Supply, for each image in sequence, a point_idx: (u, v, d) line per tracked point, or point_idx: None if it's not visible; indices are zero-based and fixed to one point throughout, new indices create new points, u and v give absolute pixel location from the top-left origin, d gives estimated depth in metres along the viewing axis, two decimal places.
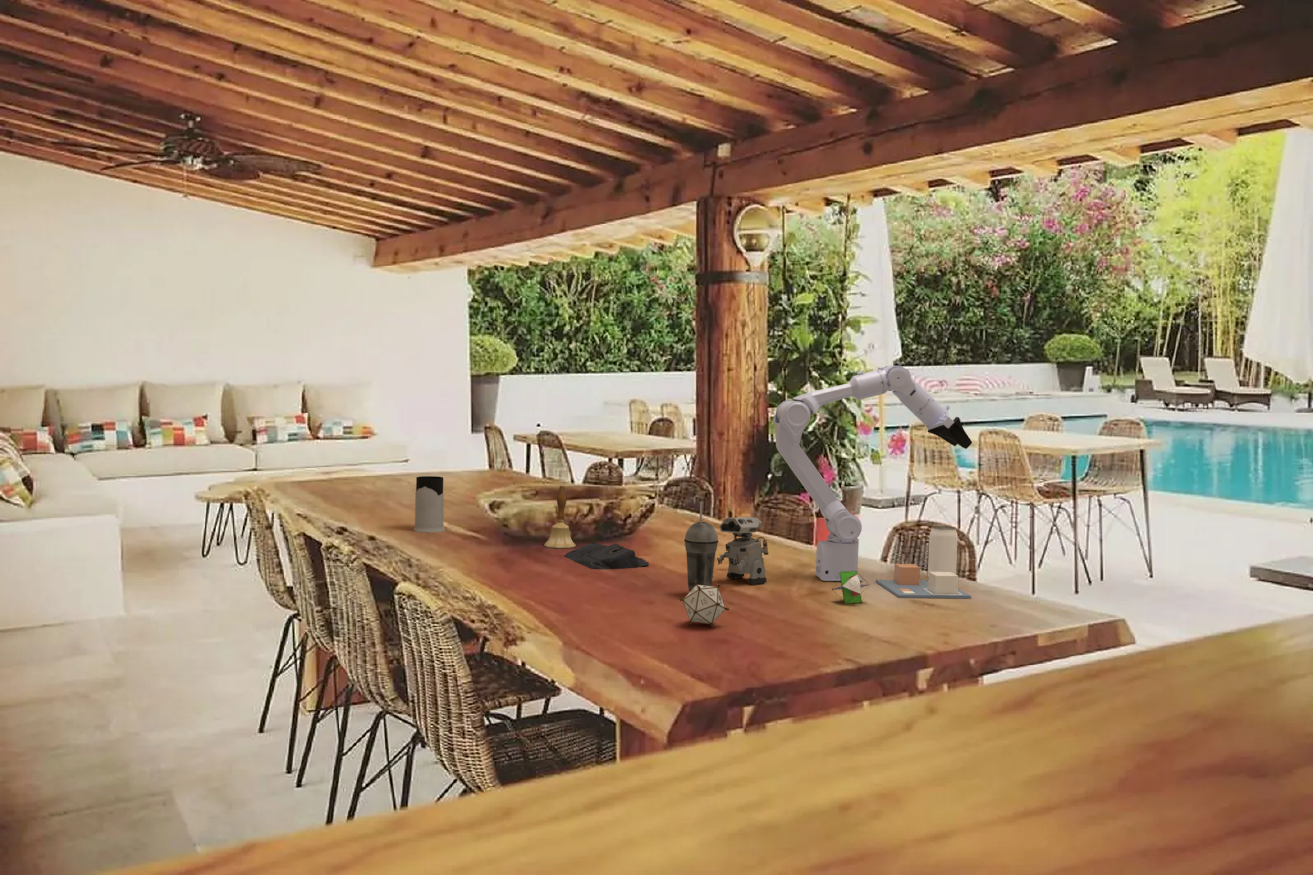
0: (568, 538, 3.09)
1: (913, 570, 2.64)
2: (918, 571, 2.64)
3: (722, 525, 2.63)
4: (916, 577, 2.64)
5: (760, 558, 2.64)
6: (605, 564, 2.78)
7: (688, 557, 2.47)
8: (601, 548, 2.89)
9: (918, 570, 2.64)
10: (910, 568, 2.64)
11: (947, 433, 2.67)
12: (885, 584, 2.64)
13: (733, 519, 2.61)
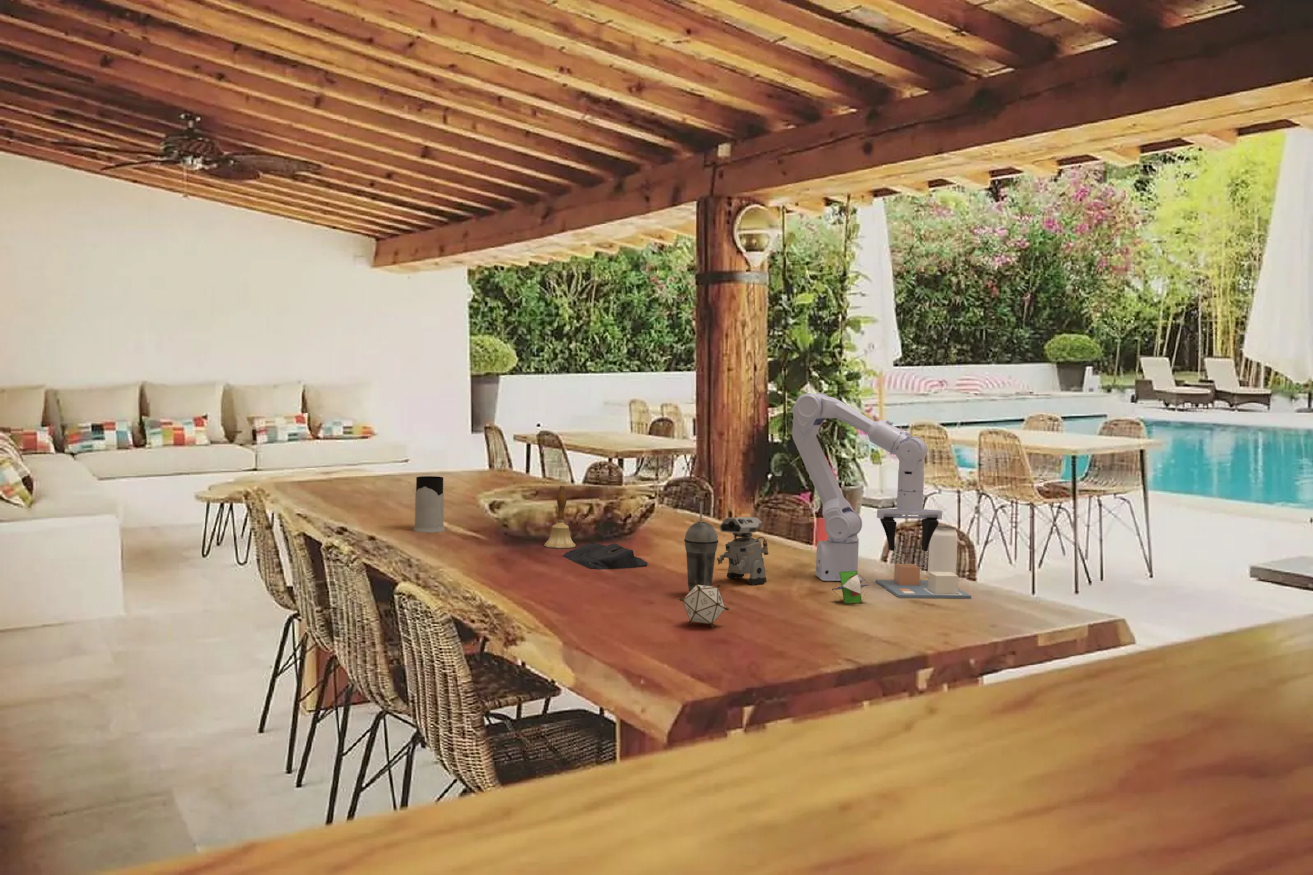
0: (568, 538, 3.09)
1: (913, 570, 2.64)
2: (918, 571, 2.64)
3: (722, 525, 2.63)
4: (916, 577, 2.64)
5: (760, 558, 2.64)
6: (604, 563, 2.78)
7: (688, 557, 2.47)
8: (600, 548, 2.89)
9: (918, 570, 2.64)
10: (910, 568, 2.64)
11: (881, 521, 2.67)
12: (885, 584, 2.64)
13: (733, 519, 2.61)
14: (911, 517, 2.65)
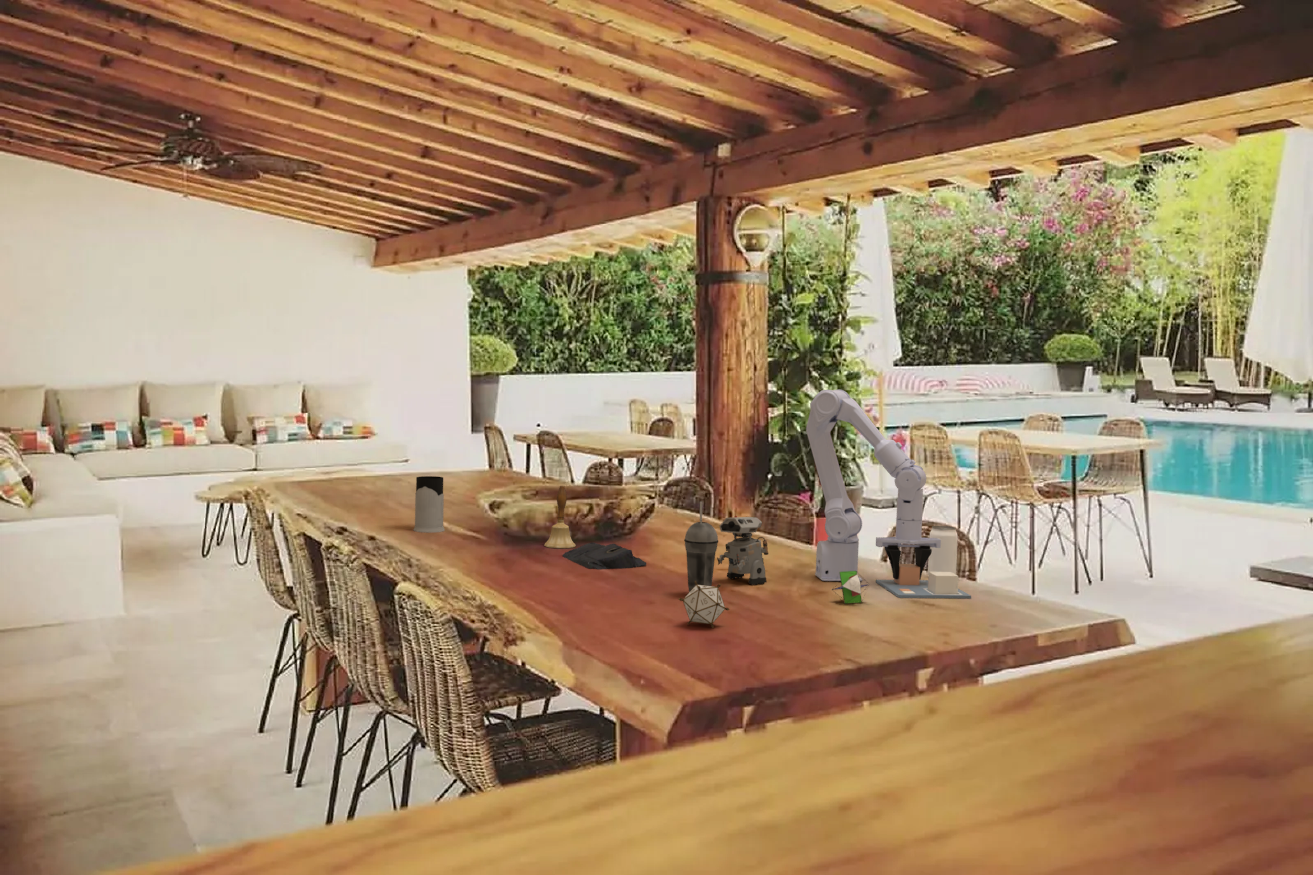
0: (568, 538, 3.09)
1: (913, 570, 2.64)
2: (918, 571, 2.64)
3: (722, 525, 2.63)
4: (916, 577, 2.64)
5: (760, 558, 2.64)
6: (603, 563, 2.78)
7: (688, 557, 2.47)
8: (599, 548, 2.89)
9: (918, 570, 2.64)
10: (910, 568, 2.64)
11: (885, 549, 2.67)
12: (885, 584, 2.64)
13: (733, 519, 2.61)
14: (910, 545, 2.66)
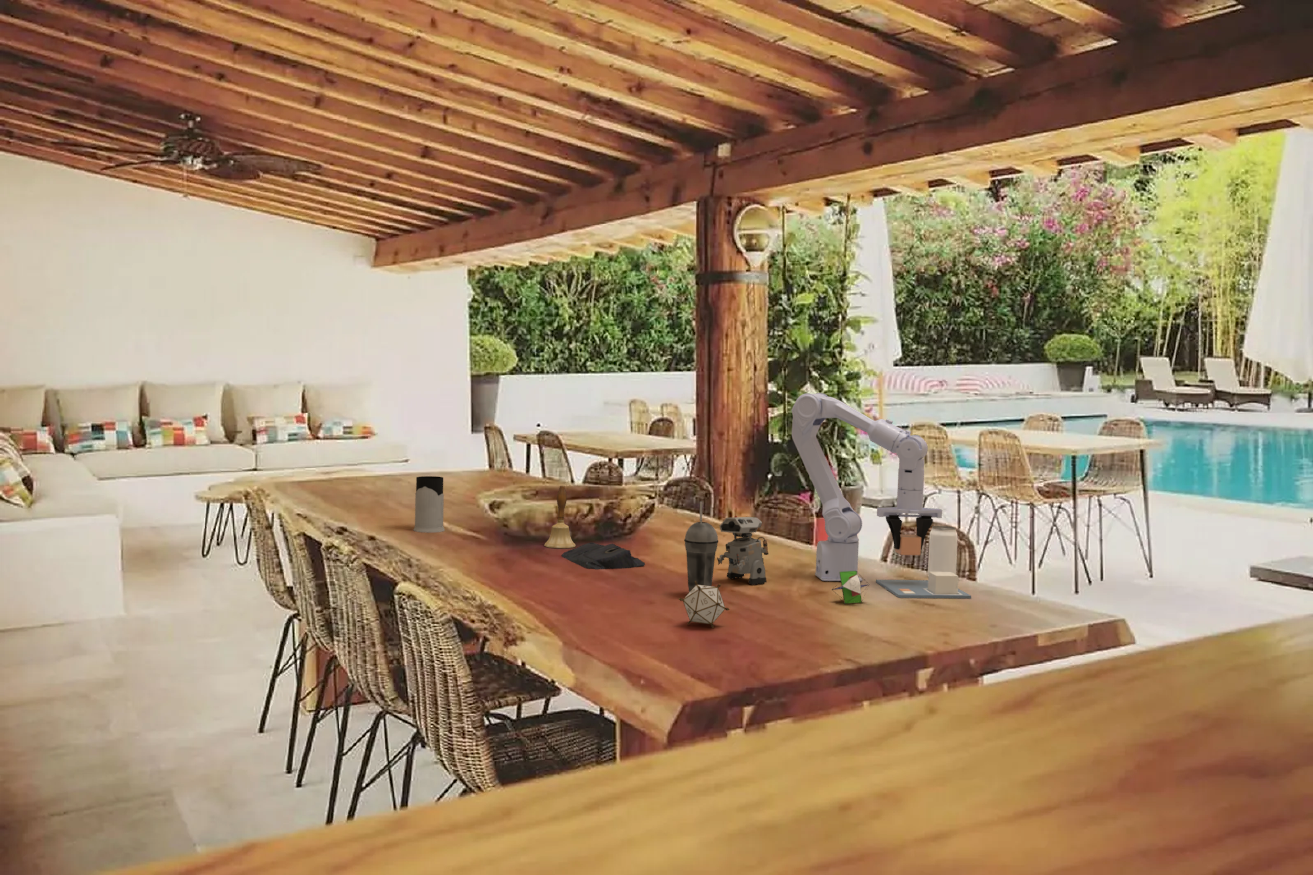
0: (568, 538, 3.09)
1: (914, 540, 2.64)
2: (919, 541, 2.64)
3: (722, 525, 2.63)
4: (917, 547, 2.64)
5: (760, 558, 2.64)
6: (601, 563, 2.78)
7: (688, 557, 2.47)
8: (598, 548, 2.89)
9: (919, 540, 2.64)
10: (911, 538, 2.64)
11: (886, 519, 2.67)
12: (885, 584, 2.64)
13: (733, 519, 2.61)
14: (911, 515, 2.65)
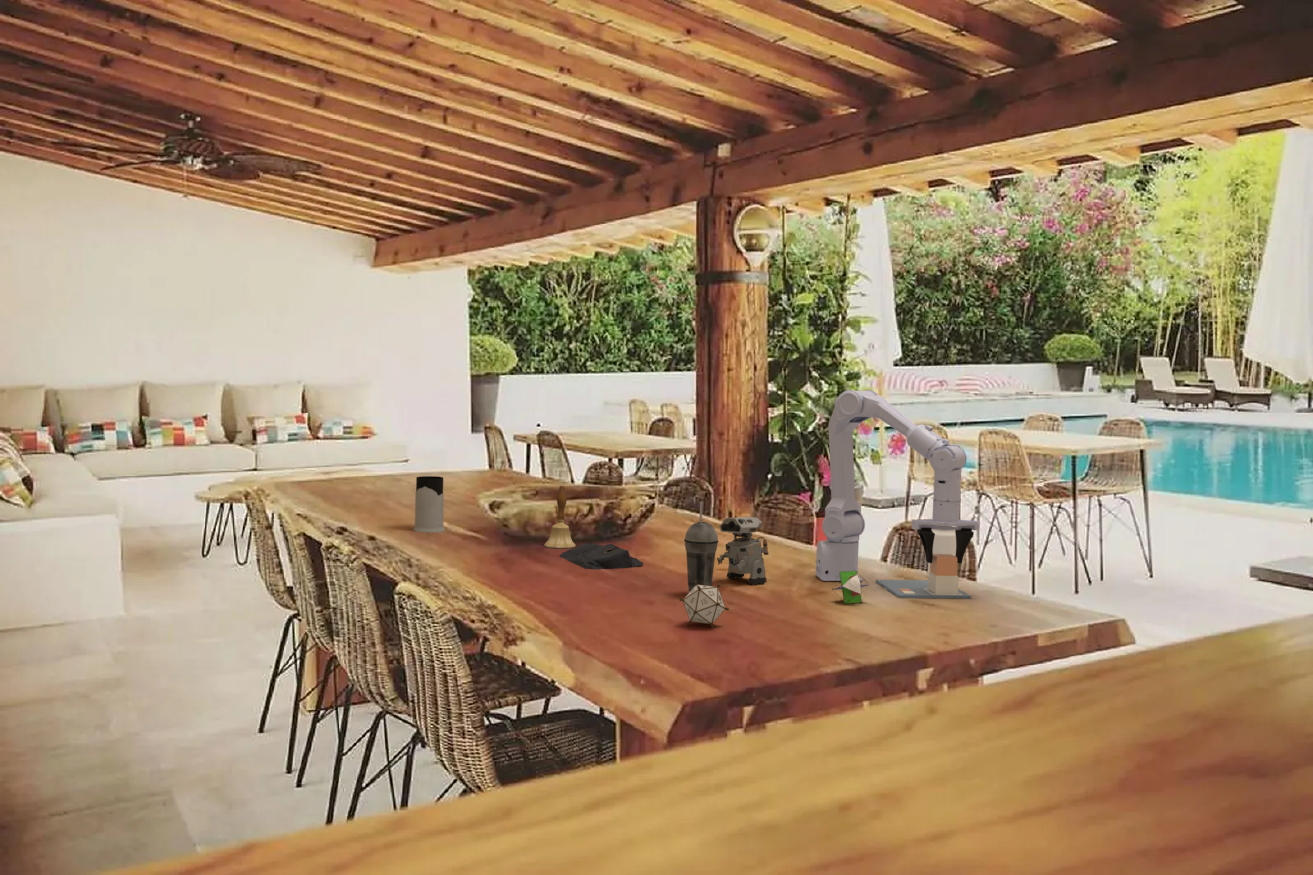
0: (568, 538, 3.09)
1: (950, 560, 2.55)
2: (955, 561, 2.55)
3: (722, 525, 2.63)
4: (953, 568, 2.55)
5: (760, 558, 2.64)
6: (599, 563, 2.78)
7: (688, 557, 2.47)
8: (596, 548, 2.89)
9: (955, 560, 2.55)
10: (947, 558, 2.54)
11: (918, 532, 2.58)
12: (885, 584, 2.64)
13: (733, 519, 2.61)
14: (947, 528, 2.56)
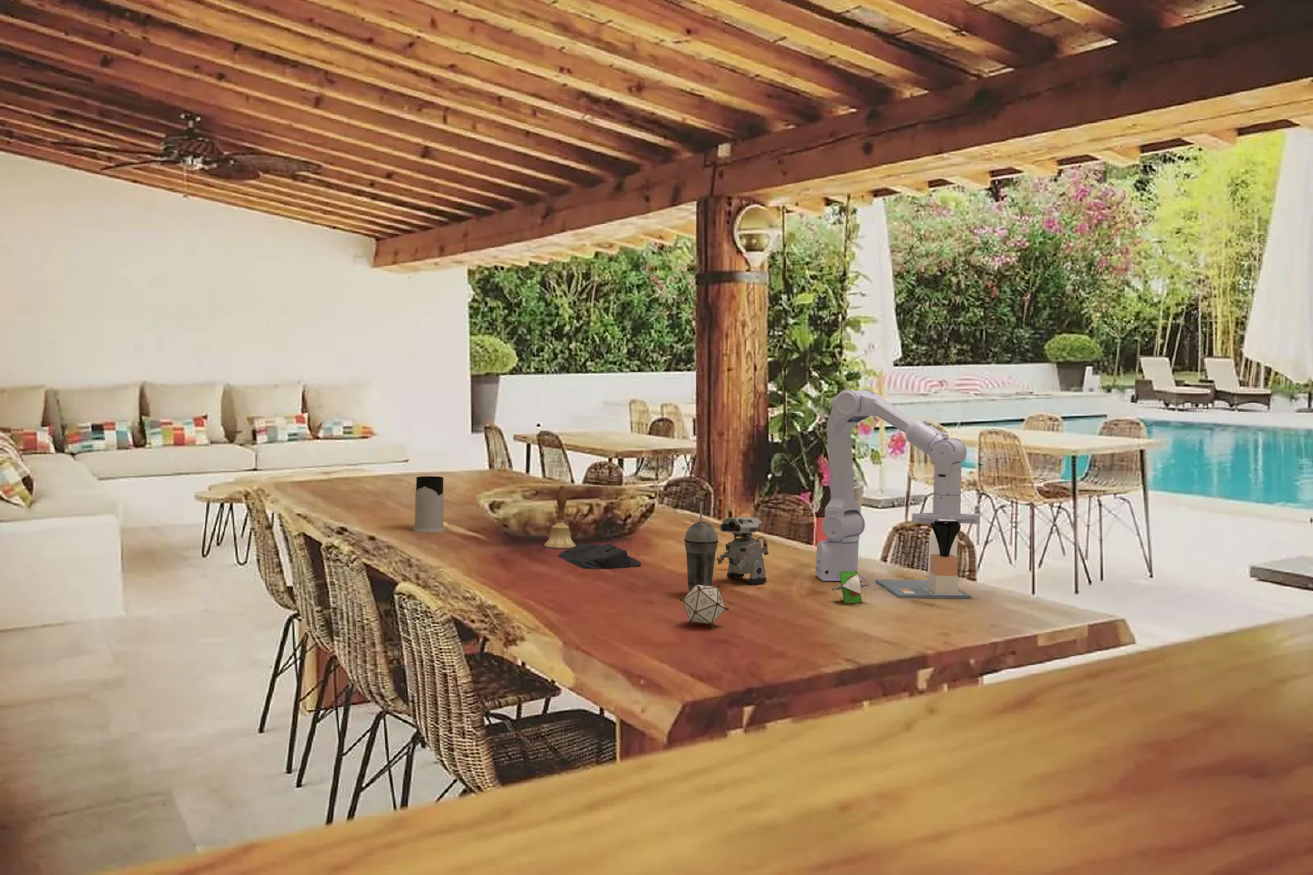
0: (568, 538, 3.09)
1: (950, 560, 2.55)
2: (955, 561, 2.55)
3: (722, 525, 2.63)
4: (953, 568, 2.55)
5: (760, 558, 2.64)
6: (597, 563, 2.78)
7: (688, 557, 2.47)
8: (594, 548, 2.89)
9: (955, 560, 2.55)
10: (947, 558, 2.54)
11: (931, 526, 2.58)
12: (885, 584, 2.64)
13: (733, 519, 2.61)
14: (948, 522, 2.56)
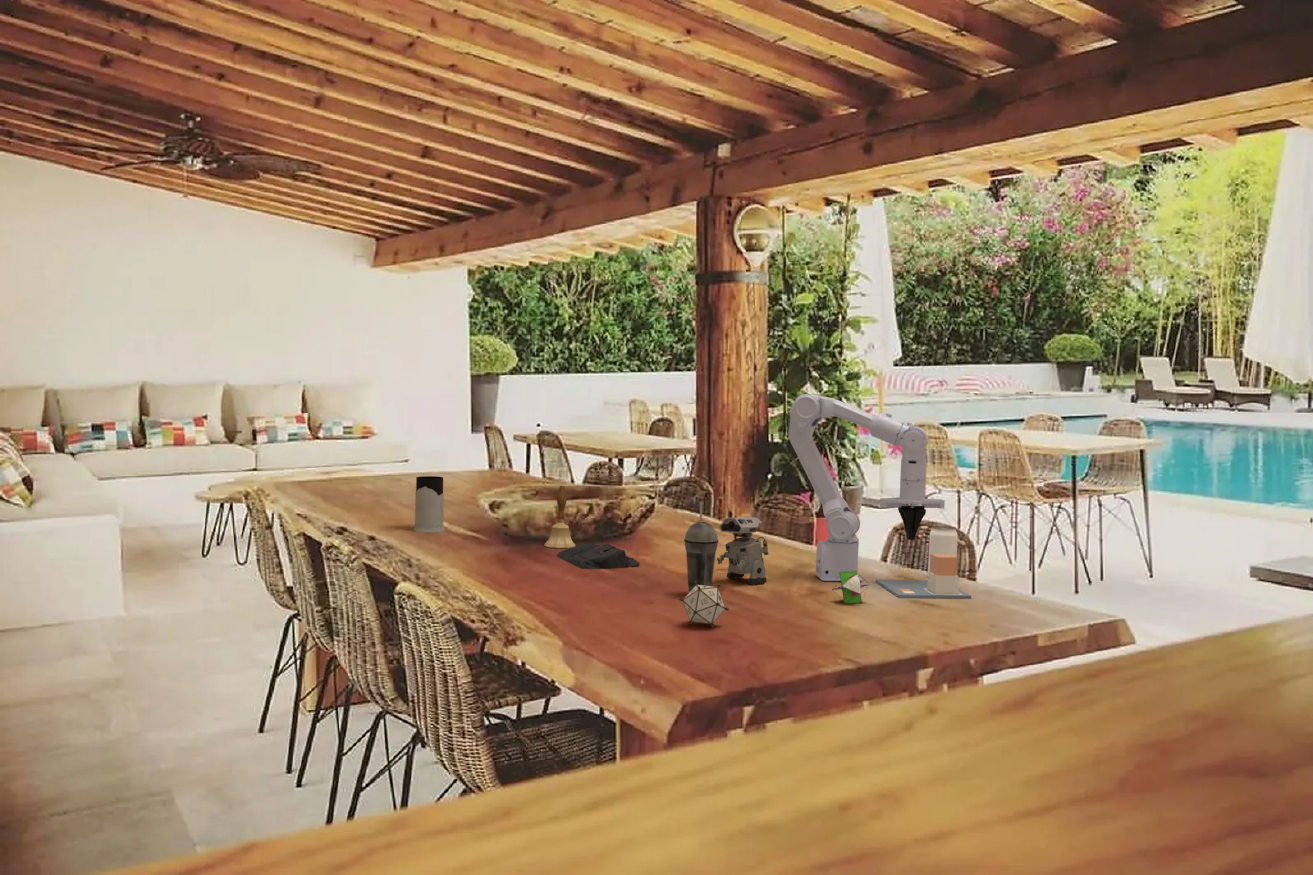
0: (568, 538, 3.09)
1: (950, 560, 2.55)
2: (955, 561, 2.55)
3: (722, 525, 2.63)
4: (953, 568, 2.55)
5: (760, 558, 2.64)
6: (595, 563, 2.78)
7: (688, 557, 2.47)
8: (593, 548, 2.89)
9: (955, 560, 2.55)
10: (947, 558, 2.54)
11: (899, 510, 2.69)
12: (885, 584, 2.64)
13: (733, 519, 2.61)
14: (914, 506, 2.67)
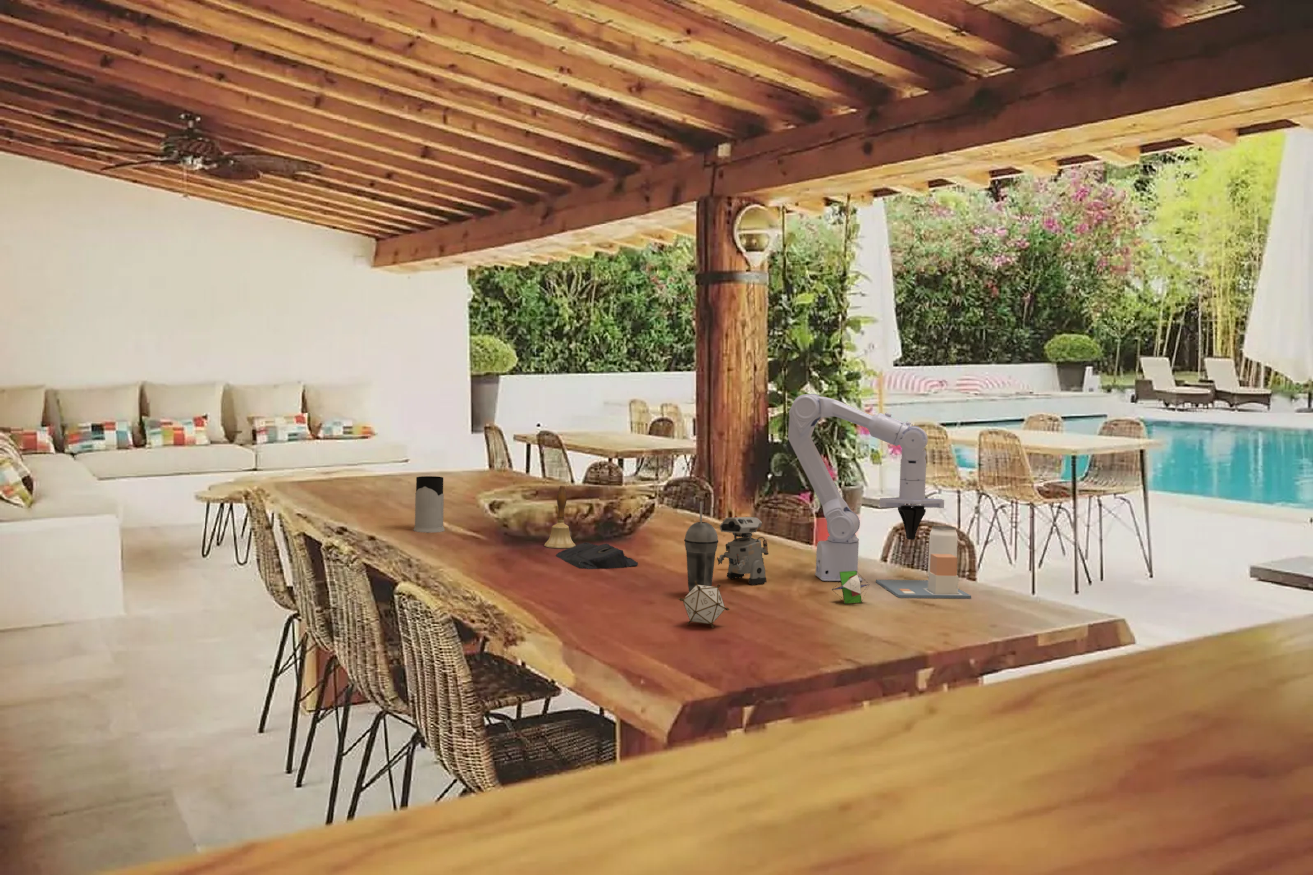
0: (568, 538, 3.09)
1: (950, 560, 2.55)
2: (955, 561, 2.55)
3: (722, 525, 2.63)
4: (953, 568, 2.55)
5: (760, 558, 2.64)
6: (593, 563, 2.78)
7: (688, 557, 2.47)
8: (591, 548, 2.89)
9: (955, 560, 2.55)
10: (947, 558, 2.54)
11: (898, 510, 2.69)
12: (885, 584, 2.64)
13: (733, 519, 2.61)
14: (913, 506, 2.67)
